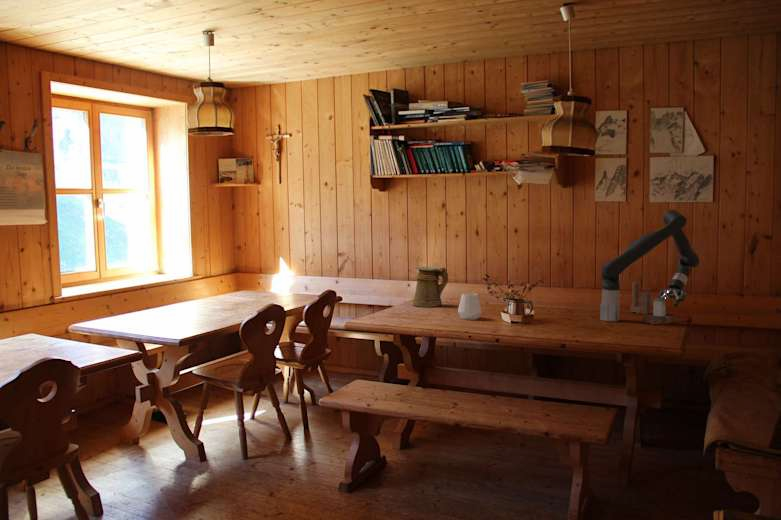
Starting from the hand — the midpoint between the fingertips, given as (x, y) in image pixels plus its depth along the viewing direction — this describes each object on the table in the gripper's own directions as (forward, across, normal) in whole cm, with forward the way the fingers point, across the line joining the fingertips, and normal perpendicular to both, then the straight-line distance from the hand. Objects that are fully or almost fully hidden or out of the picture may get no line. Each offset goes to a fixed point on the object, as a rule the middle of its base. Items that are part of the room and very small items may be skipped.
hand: (667, 305), depth 371 cm
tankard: (+46, +130, +35) cm, 142 cm away
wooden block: (-4, +25, -17) cm, 31 cm away
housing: (+9, +1, +1) cm, 9 cm away
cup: (+58, +78, +47) cm, 108 cm away
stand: (+11, +1, -1) cm, 11 cm away
